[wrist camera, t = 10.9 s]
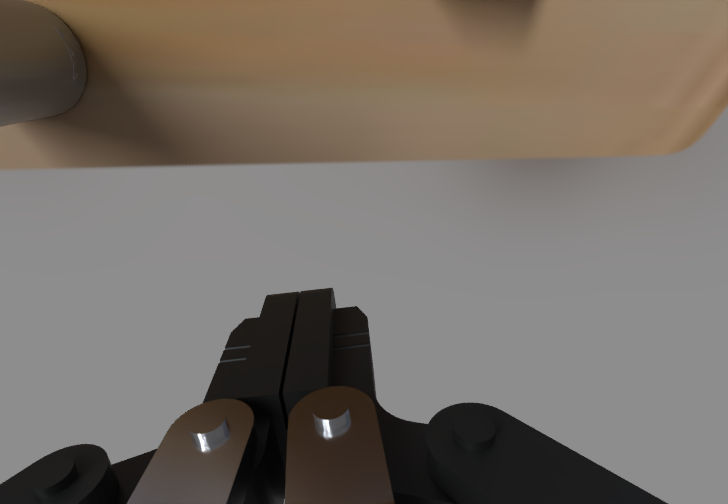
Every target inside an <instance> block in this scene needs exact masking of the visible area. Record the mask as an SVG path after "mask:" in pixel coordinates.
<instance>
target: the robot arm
mask: <svg viewBox="0 0 728 504" xmlns="http://www.w3.org/2000/svg"><path fill="white" fill-rule="evenodd" d="M85 83H86V63H85V58H84V54H83V52H82V49H81V47H80V44H79V42H78V41H77V39H76V37H75V36H74V34H73V33H72V31H71V30H70V29H69V28H68V27H67V26H66V24H65V23H64V22H63V21H62V20H61V19H59V18H58V17H57V16H56V15H54V14H53V13H52V12H51V11H49V10H47V9H45V8H43V7H41V6H40V5H37V4H34V3H31V2H28V1H23V0H0V127H1V126H6V125H11V124H15V123H20V122H26V121H31V120H36V119H41V118H46V117H50V116H55V115H58V114H61V113H64V112H65V111H67V110H68V109H70V108H71V107H73V106H74V105H75V104H76V102H77V101H78V100H79V99H80V97H81V95H82V93H83V91H84V88H85ZM284 499H285V503H284ZM0 504H668V503H666V502H663V501H662V500H660V499H659V498H657V497H655V496H653V495H651V494H650V493H648V492H646V491H644V490H643V489H641V488H639V487H637V486H635V485H634V484H632V483H630V482H628V481H626V480H625V479H623V478H621V477H619V476H617V475H616V474H614V473H612V472H611V471H609V470H607V469H605V468H603V467H602V466H600V465H598V464H596V463H594V462H593V461H591V460H589V459H587V458H585V457H584V456H582V455H580V454H578V453H577V452H575V451H573V450H571V449H569V448H568V447H566V446H564V445H562V444H561V443H559V442H557V441H555V440H553V439H552V438H550V437H548V436H546V435H545V434H542V433H541V432H539V431H537V430H535V429H534V428H532V427H530V426H529V425H527V424H525V423H523V422H521V421H520V420H518V419H516V418H514V417H512V416H510V415H509V414H507V413H505V412H503V411H502V410H499V409H497V408H495V407H492V406H489V405H485V404H480V403H460V404H455V405H452V406H449V407H447V408H444V409H442V410H441V411H439V412H438V413H437V414H436V415H435V416H434V417H433V418H432V419H431V420H430V422H429V424H424V423H416V422H411V421H406V420H403V419H400V418H397V417H395V416H393V415H391V414H390V413H388V412H387V411H385V410H384V409H383V408H382V407H381V406H380V405H379V403H378V401H377V399H376V391H375V380H374V371H373V362H372V354H371V345H370V337H369V328H368V319H367V316H366V315H365V314H364V313H363V312H362V311H361V310H360V309H359V308H358V307H357V306H355V307H346V308H337V309H336V304H335V298H334V291H333V288H326V289H317V290H308V291H301V292H300V293H299V292H292V293H283V294H274V295H267V296H266V299H265V302H264V305H263V308H262V311H261V314H260V317H259V318H249V319H245V320H244V321H243V322H242V323H241V324H239V325H238V327H237V328H235V329H234V330H233V331H232V332H231V334H230V336H229V339H228V342H227V344H226V347H225V350H224V351H223V354H222V356H221V359H220V363H219V364H218V366H217V369H216V371H215V374H214V376H213V379H212V381H211V384H210V386H209V389H208V391H207V394H206V396H205V399H204V401H203V403H202V404H200V405H198V406H195V407H194V408H192V409H190V410H188V411H187V412H185V413H184V414H183V415H181V416H180V417H179V418H178V419H177V420H176V421H175V422H174V423H173V424H172V425H171V426H170V428H169V430H168V431H167V433H166V434H165V436H164V438H163V440H162V442H161V443H160V445H159V447H158V448H157V449H155V450H152V451H150V452H147V453H144V454H142V455H138V456H136V457H133V458H130V459H127V460H124V461H121V462H119V463H115V464H113V465H111V463H110V460H109V458H108V456H107V453H106V452H105V450H104V449H102V448H101V447H99V446H96V445H92V444H80V445H75V446H70V447H66V448H63V449H60V450H58V451H55V452H53V453H51V454H49V455H47V456H45V457H43V458H42V459H40V460H38V461H36V462H35V463H33V464H32V465H30V466H28V467H27V468H25V469H24V470H22V471H21V472H19V473H17V474H16V475H14V476H13V477H11V478H10V479H8V480H7V481H5V482H3V483H2V484H0Z"/></svg>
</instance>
